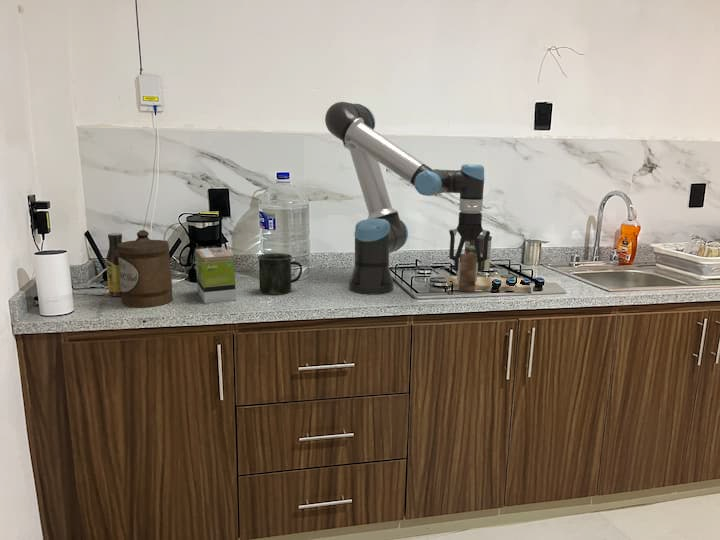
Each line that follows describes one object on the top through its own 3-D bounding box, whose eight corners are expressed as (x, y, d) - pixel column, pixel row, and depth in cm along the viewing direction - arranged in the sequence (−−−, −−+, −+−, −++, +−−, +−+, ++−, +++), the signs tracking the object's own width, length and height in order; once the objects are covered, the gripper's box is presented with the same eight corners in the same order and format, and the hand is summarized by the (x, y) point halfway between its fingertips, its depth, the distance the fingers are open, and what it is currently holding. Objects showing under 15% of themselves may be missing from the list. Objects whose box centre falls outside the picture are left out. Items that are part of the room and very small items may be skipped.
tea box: (196, 292, 185) (194, 248, 182) (227, 289, 189) (225, 246, 186) (203, 304, 172) (201, 256, 169) (236, 300, 176) (235, 254, 173)
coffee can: (473, 275, 217) (475, 238, 214) (458, 269, 226) (459, 234, 223) (495, 272, 221) (497, 237, 218) (479, 267, 230) (481, 233, 227)
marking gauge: (459, 291, 190) (461, 256, 188) (456, 282, 202) (457, 249, 200) (474, 291, 190) (476, 256, 187) (470, 282, 202) (471, 250, 200)
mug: (258, 287, 192) (258, 253, 190) (301, 287, 195) (301, 252, 192) (257, 296, 182) (256, 259, 179) (303, 295, 184) (302, 258, 182)
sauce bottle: (108, 293, 183) (103, 232, 178) (129, 291, 185) (125, 231, 181) (108, 298, 177) (103, 235, 173) (130, 296, 179) (125, 234, 175)
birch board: (447, 290, 192) (447, 284, 192) (444, 281, 206) (444, 275, 206) (530, 293, 190) (531, 287, 190) (522, 283, 204) (522, 277, 204)
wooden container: (117, 298, 176) (111, 229, 172) (165, 292, 184) (161, 226, 180) (127, 310, 164) (121, 235, 160) (178, 303, 172) (174, 232, 167)
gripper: (443, 212, 184) (440, 281, 189) (500, 213, 183) (495, 283, 188) (442, 210, 191) (439, 276, 196) (496, 211, 190) (491, 278, 195)
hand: (466, 280), depth 192 cm, fingers closed on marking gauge, 5 cm apart
